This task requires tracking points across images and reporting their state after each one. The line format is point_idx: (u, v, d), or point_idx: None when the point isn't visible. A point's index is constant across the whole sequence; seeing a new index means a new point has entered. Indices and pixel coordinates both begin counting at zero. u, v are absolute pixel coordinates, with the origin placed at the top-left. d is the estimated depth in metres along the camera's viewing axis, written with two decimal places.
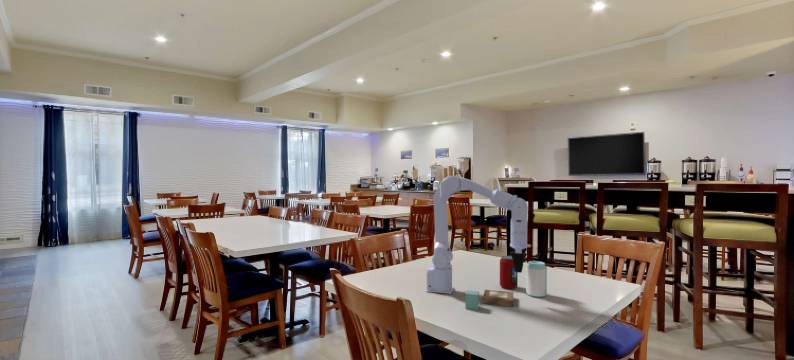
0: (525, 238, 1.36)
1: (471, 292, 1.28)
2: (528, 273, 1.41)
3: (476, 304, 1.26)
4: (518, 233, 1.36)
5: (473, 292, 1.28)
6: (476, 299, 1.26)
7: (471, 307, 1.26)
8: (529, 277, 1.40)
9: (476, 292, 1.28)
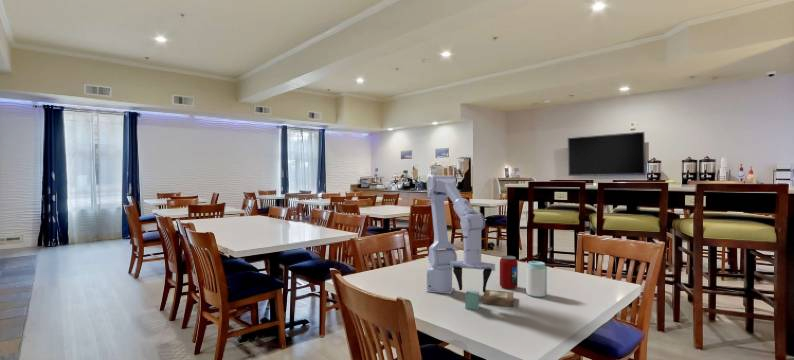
0: (466, 256, 1.26)
1: (471, 292, 1.28)
2: (528, 273, 1.41)
3: (476, 304, 1.26)
4: None
5: (473, 292, 1.28)
6: (476, 299, 1.26)
7: (471, 307, 1.26)
8: (529, 277, 1.40)
9: (476, 292, 1.28)
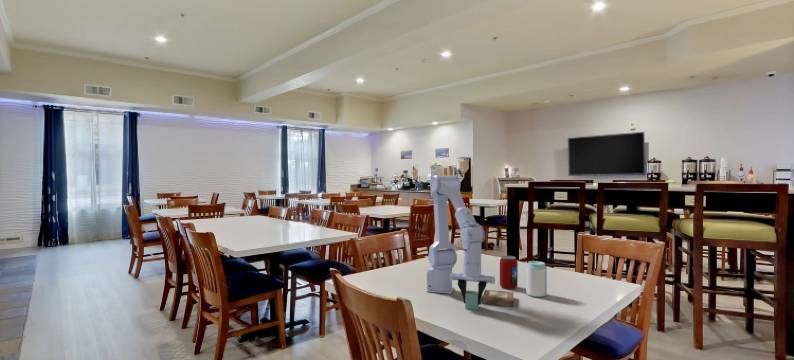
0: (466, 269, 1.26)
1: (471, 292, 1.28)
2: (528, 273, 1.41)
3: (476, 304, 1.26)
4: None
5: (473, 292, 1.28)
6: (476, 299, 1.26)
7: (471, 307, 1.26)
8: (529, 277, 1.40)
9: (476, 292, 1.28)
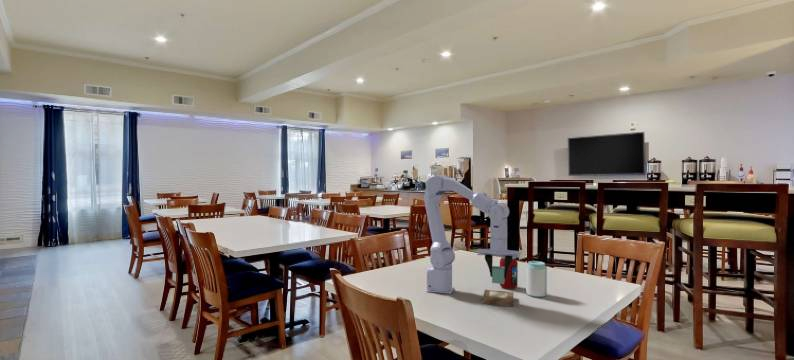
0: (493, 244, 1.33)
1: (497, 267, 1.35)
2: (528, 273, 1.41)
3: (502, 278, 1.32)
4: (490, 238, 1.36)
5: (499, 267, 1.34)
6: (502, 273, 1.32)
7: (498, 281, 1.33)
8: (529, 277, 1.40)
9: (502, 267, 1.35)
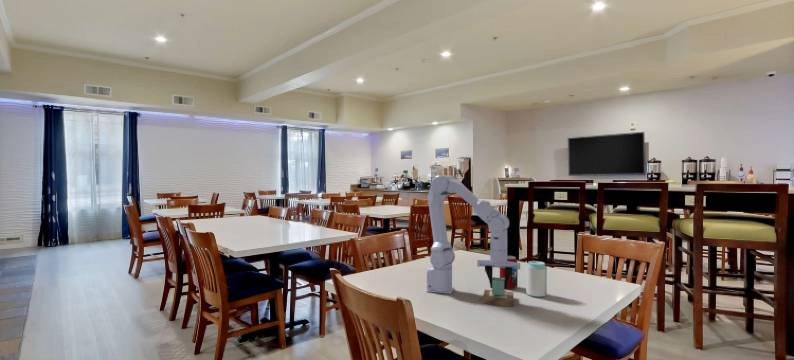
0: (493, 255, 1.33)
1: (497, 278, 1.35)
2: (528, 273, 1.41)
3: (502, 290, 1.32)
4: None
5: (499, 279, 1.34)
6: (502, 285, 1.32)
7: (498, 293, 1.33)
8: (529, 277, 1.40)
9: (502, 279, 1.35)
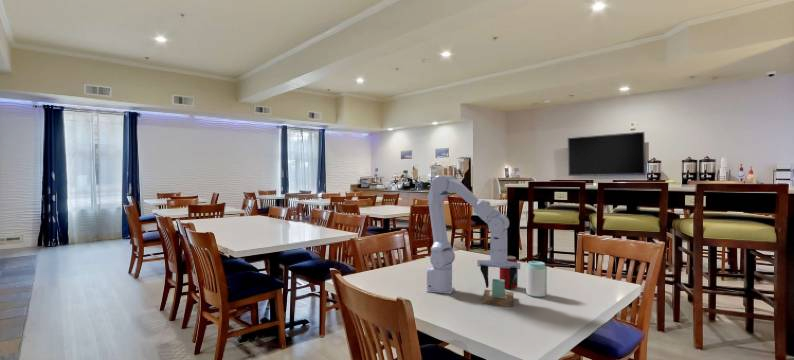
0: (493, 255, 1.33)
1: (497, 280, 1.35)
2: (528, 273, 1.41)
3: (503, 291, 1.32)
4: None
5: (499, 280, 1.34)
6: (503, 286, 1.32)
7: (498, 294, 1.33)
8: (529, 277, 1.40)
9: (502, 280, 1.35)
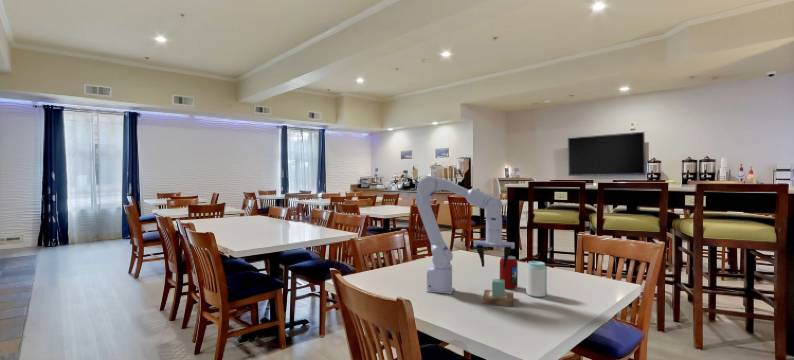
0: (488, 235, 1.40)
1: (497, 280, 1.35)
2: (528, 273, 1.41)
3: (503, 291, 1.32)
4: (486, 229, 1.42)
5: (499, 280, 1.34)
6: (503, 286, 1.32)
7: (498, 294, 1.33)
8: (529, 277, 1.40)
9: (502, 280, 1.35)
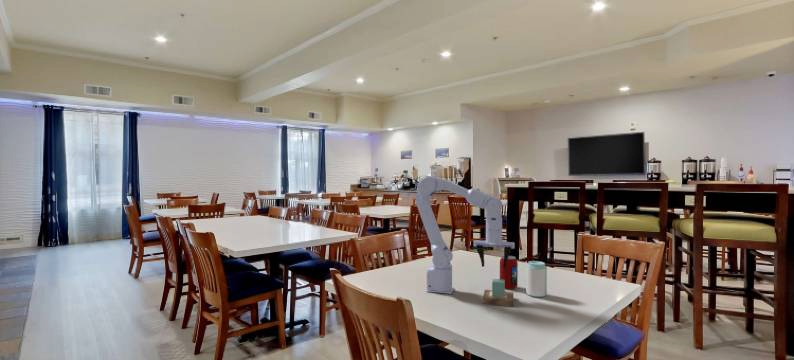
0: (488, 235, 1.40)
1: (497, 280, 1.35)
2: (528, 273, 1.41)
3: (503, 291, 1.32)
4: (486, 229, 1.42)
5: (499, 280, 1.34)
6: (503, 286, 1.32)
7: (498, 294, 1.33)
8: (529, 277, 1.40)
9: (502, 280, 1.35)
